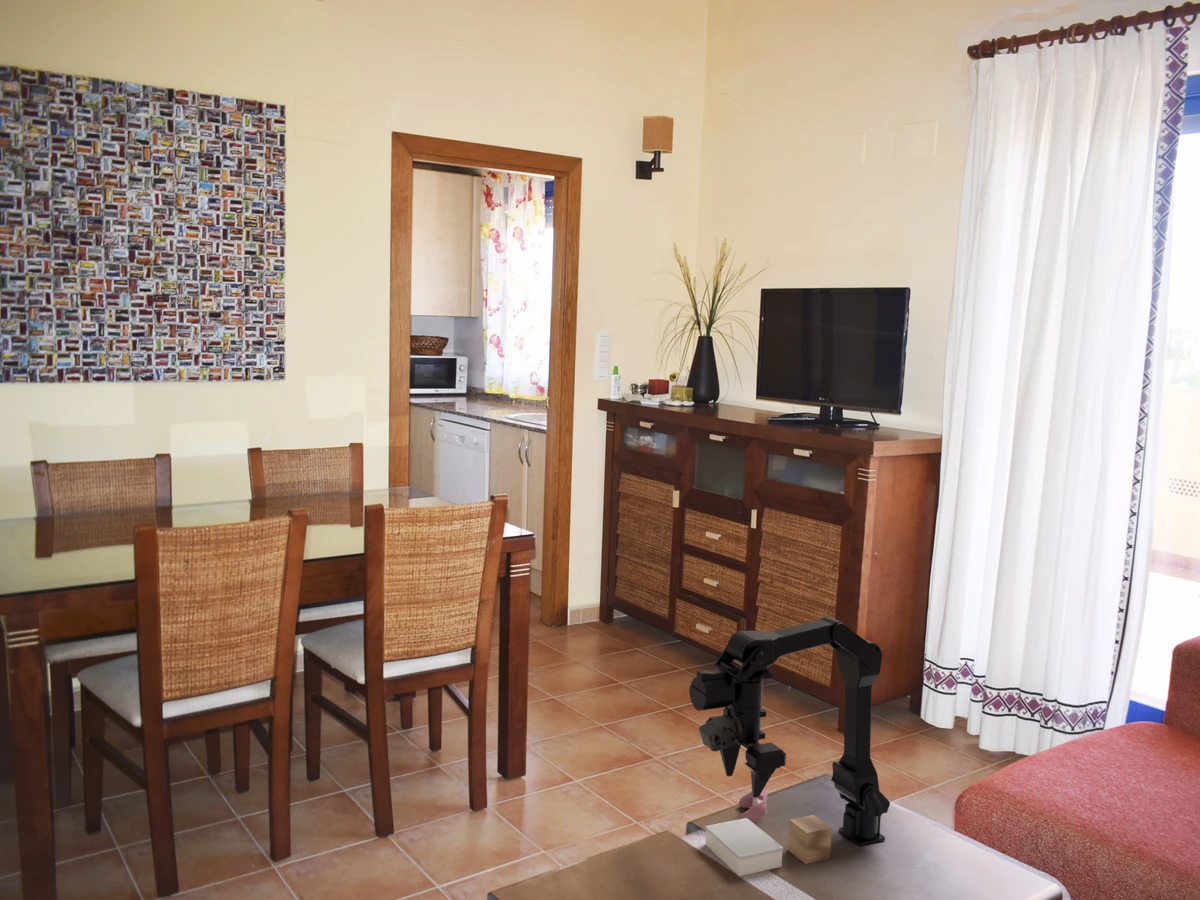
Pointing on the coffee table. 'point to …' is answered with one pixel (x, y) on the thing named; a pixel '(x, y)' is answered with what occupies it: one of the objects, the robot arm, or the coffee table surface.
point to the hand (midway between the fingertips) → (742, 786)
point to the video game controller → (754, 806)
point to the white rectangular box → (743, 846)
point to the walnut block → (809, 839)
